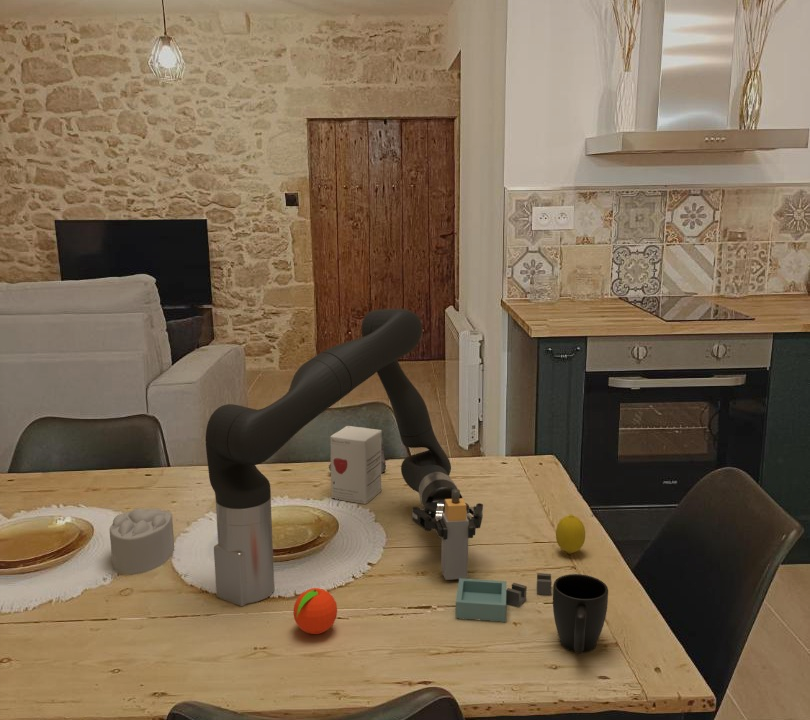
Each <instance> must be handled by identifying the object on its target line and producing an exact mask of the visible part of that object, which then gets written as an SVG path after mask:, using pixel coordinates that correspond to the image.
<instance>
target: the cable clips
mask: <svg viewBox="0 0 810 720" xmlns="http://www.w3.org/2000/svg"><path fill="white" fill-rule="evenodd" d="M552 585H553V584H552V574H551V573H542V572H541V573H540V572H536V594H537V595H539V596H542V595H543V596H552ZM527 588H528V587H527V585H523V584H521V583H516V582H513V583H512V584H511V588H510V587H508V588H506V605H510V606H512V607H515V608H516V607H517V608H520V607H521V606H522V605H523V604H524V603H525V602H526V601H527V592H528V591H527Z"/></svg>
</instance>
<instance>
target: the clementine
mask: <svg viewBox="0 0 810 720" xmlns="http://www.w3.org/2000/svg"><path fill="white" fill-rule="evenodd" d="M337 616H338V607H337V602H336V600H335V598H334V597H333V595H332V594H331V593H330V592H329V591H327V590H324V589H323V588H318V587H314V588H309V589H306V590H305V591H304V592H302V593H301V594H300V595H299V596H298V597H297V598H296V600H295V602H294V604H293V619H294V621H295V623H296V625H297V627H299V628H300V629H301V630H302V631H303V632H305V633H307V634H311V635H319V634H322V633H324V632H326V631H328V630H330V628H331V627H332V626H333V625H334V623H335V622H336V619H337Z"/></svg>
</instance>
